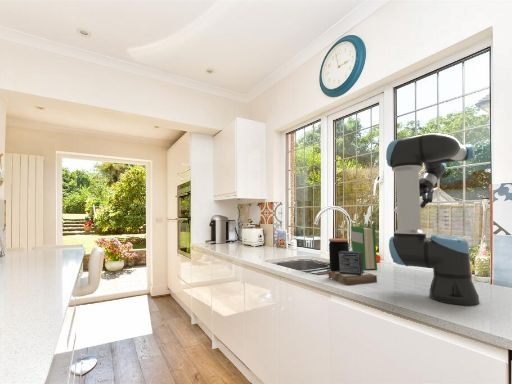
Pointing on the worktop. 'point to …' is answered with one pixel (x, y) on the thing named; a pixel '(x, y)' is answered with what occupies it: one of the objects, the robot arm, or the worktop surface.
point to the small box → (351, 262)
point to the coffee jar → (336, 251)
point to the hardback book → (365, 245)
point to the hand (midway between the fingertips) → (405, 211)
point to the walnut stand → (353, 278)
